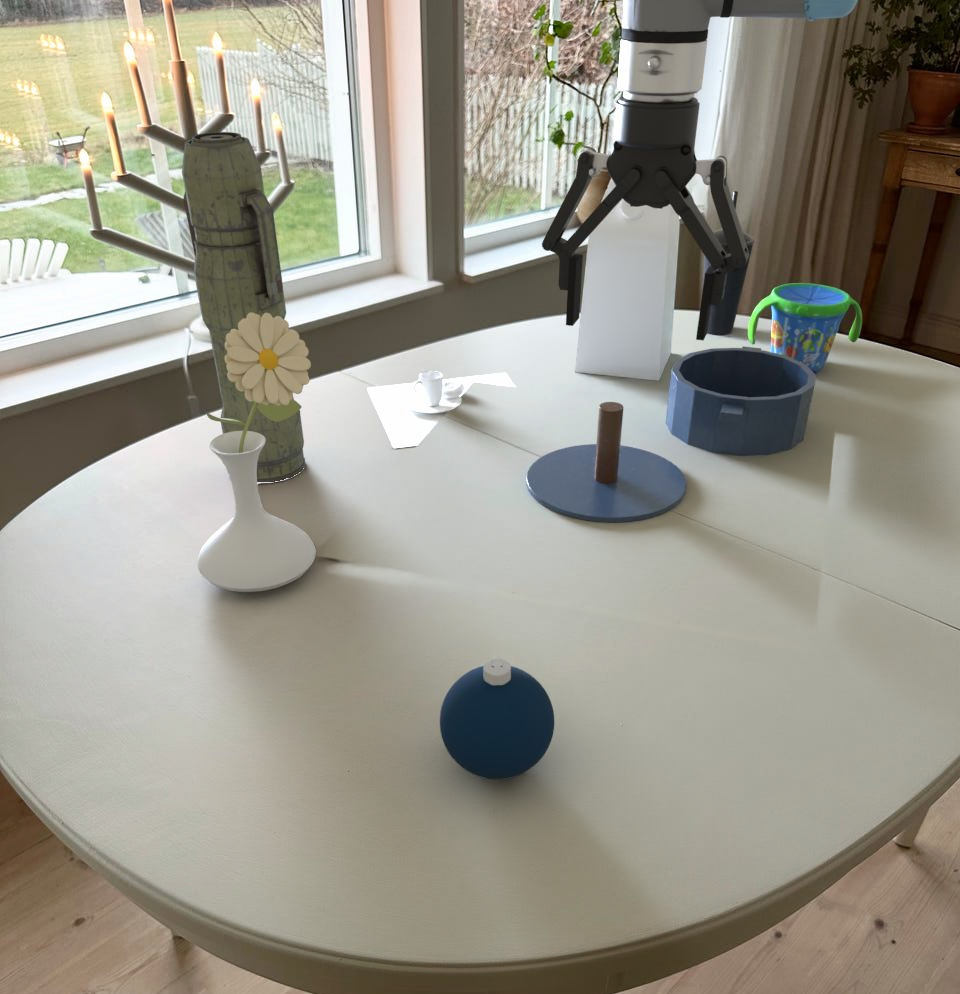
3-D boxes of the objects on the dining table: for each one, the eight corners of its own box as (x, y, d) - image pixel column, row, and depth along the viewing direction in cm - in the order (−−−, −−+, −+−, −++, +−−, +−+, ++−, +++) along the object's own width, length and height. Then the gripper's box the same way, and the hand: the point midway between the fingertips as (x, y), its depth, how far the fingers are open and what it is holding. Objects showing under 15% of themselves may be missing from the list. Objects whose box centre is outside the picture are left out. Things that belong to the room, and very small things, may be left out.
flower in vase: (210, 614, 88) (153, 349, 73) (192, 554, 97) (137, 306, 82) (347, 584, 92) (319, 326, 77) (318, 529, 101) (287, 287, 86)
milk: (671, 352, 142) (692, 159, 126) (658, 380, 133) (680, 177, 117) (591, 344, 145) (603, 155, 129) (574, 371, 136) (585, 172, 120)
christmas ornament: (546, 724, 76) (550, 621, 70) (558, 801, 69) (564, 695, 63) (441, 727, 76) (436, 625, 70) (442, 805, 69) (437, 700, 63)
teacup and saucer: (459, 389, 131) (458, 360, 128) (474, 412, 125) (473, 382, 122) (396, 396, 129) (394, 367, 127) (408, 419, 123) (406, 389, 121)
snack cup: (842, 352, 141) (858, 282, 135) (862, 379, 133) (880, 305, 126) (735, 352, 142) (746, 281, 136) (748, 378, 133) (761, 305, 127)
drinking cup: (715, 318, 154) (733, 183, 142) (751, 331, 149) (774, 192, 137) (681, 328, 150) (697, 190, 138) (718, 341, 145) (738, 200, 133)
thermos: (255, 442, 118) (203, 124, 97) (330, 463, 113) (293, 133, 92) (204, 470, 112) (137, 138, 91) (281, 494, 107) (229, 148, 86)
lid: (696, 464, 112) (707, 385, 106) (670, 538, 99) (681, 452, 93) (549, 444, 117) (552, 367, 111) (506, 512, 103) (506, 429, 97)
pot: (808, 404, 126) (820, 348, 121) (797, 478, 109) (810, 416, 105) (681, 389, 130) (687, 335, 126) (651, 458, 113) (657, 398, 109)
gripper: (514, 94, 87) (510, 327, 100) (797, 107, 80) (754, 354, 93) (538, 84, 93) (531, 305, 105) (803, 95, 86) (762, 330, 99)
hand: (635, 329), depth 99 cm, fingers open, 13 cm apart
